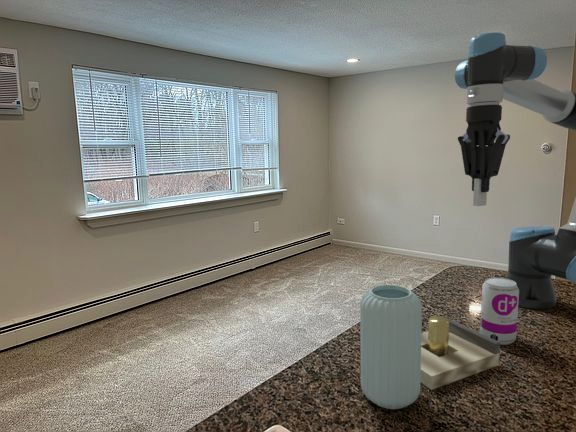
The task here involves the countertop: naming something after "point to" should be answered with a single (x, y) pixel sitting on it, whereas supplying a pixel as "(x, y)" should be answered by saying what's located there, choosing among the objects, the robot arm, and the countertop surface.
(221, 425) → the countertop surface
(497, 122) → the robot arm
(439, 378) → the jig
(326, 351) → the countertop surface
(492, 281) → the supplement can
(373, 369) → the vase
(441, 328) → the brass cylinder
